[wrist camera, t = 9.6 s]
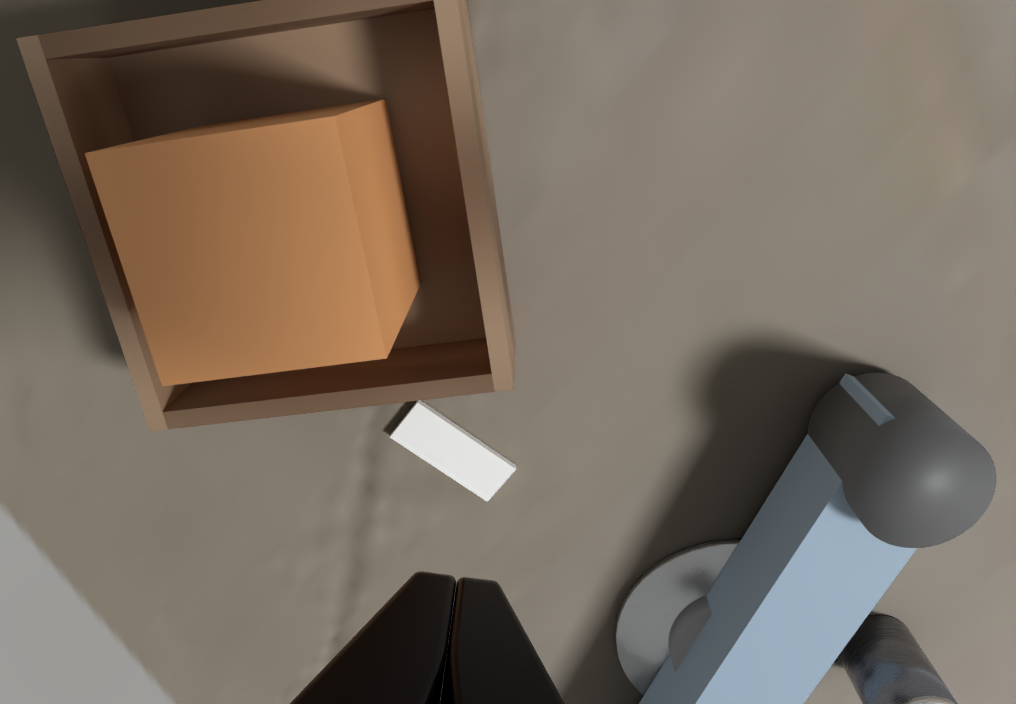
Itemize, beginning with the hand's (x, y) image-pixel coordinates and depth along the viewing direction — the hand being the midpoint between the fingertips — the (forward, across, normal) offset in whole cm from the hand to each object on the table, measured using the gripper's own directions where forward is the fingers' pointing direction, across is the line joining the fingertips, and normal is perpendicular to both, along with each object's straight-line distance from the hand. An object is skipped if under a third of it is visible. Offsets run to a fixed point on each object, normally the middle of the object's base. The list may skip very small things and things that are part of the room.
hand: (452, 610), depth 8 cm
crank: (+10, -8, +7) cm, 15 cm away
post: (+11, -12, +8) cm, 18 cm away
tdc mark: (+11, 0, +4) cm, 11 cm away
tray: (+11, +4, -2) cm, 12 cm away
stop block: (+10, +4, -2) cm, 11 cm away
